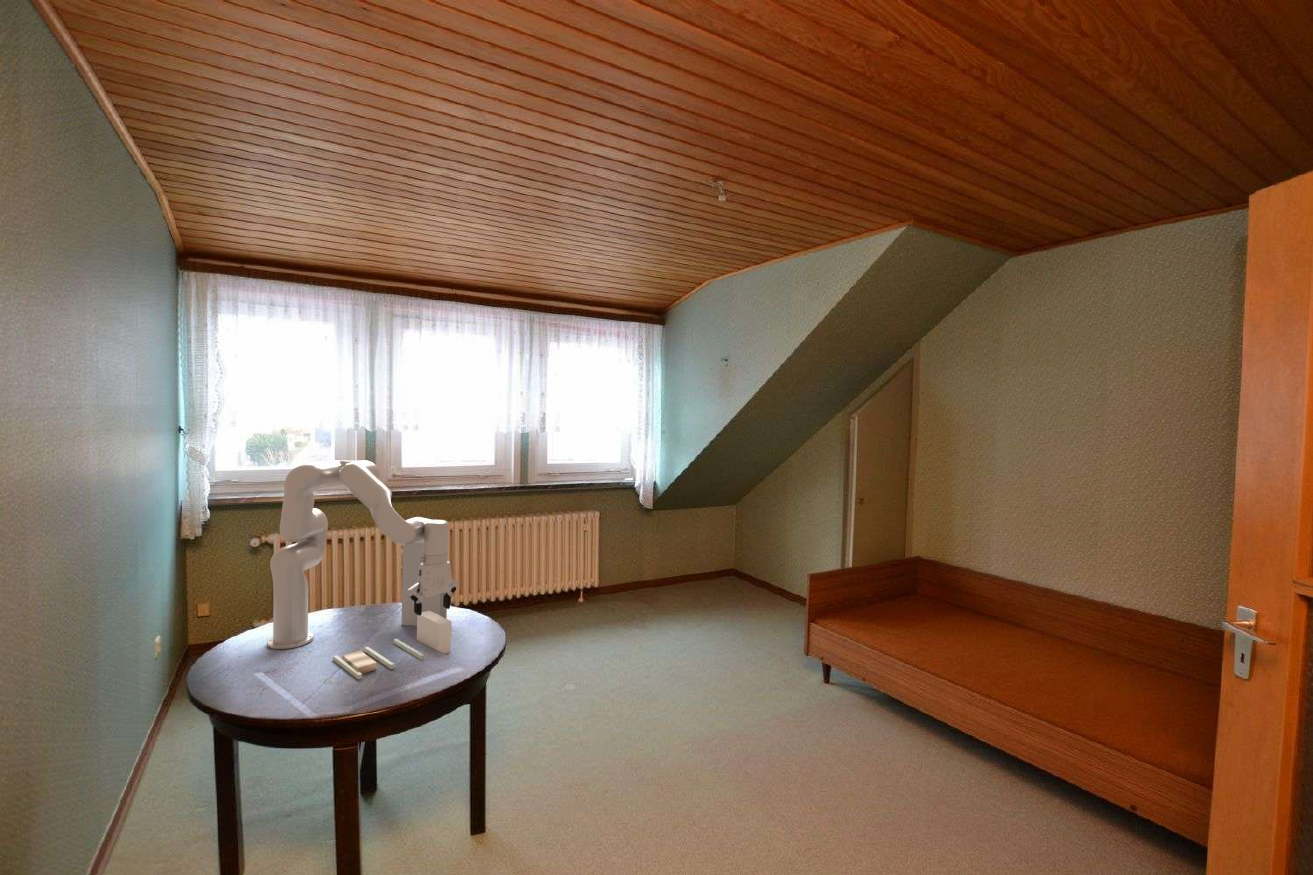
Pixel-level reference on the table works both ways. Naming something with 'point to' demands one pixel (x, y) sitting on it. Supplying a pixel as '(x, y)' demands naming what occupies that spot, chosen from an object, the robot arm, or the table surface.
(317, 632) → the table surface
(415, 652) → the rack
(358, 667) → the offcut upper
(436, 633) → the cream rectangular block
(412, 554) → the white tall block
